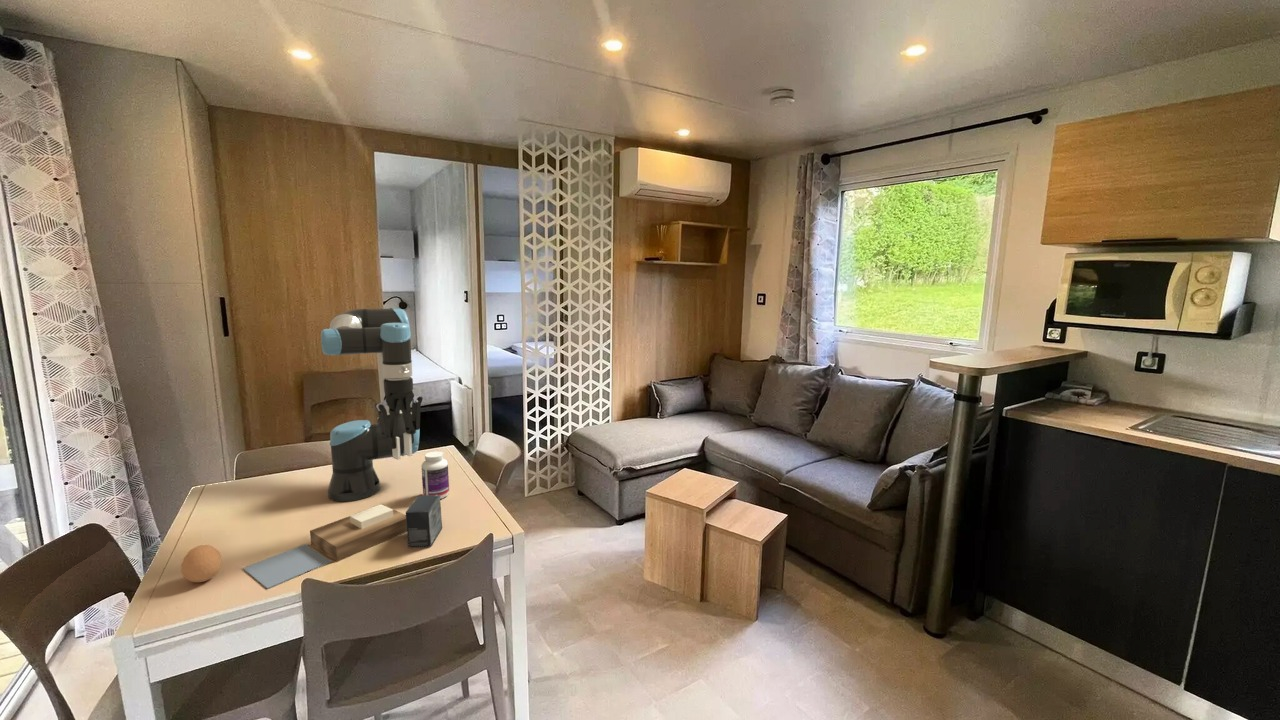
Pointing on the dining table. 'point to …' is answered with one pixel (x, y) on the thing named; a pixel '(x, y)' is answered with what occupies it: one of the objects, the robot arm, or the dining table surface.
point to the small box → (423, 521)
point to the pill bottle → (435, 475)
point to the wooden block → (355, 535)
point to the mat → (286, 565)
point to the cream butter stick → (371, 516)
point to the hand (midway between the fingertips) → (402, 456)
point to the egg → (201, 563)
